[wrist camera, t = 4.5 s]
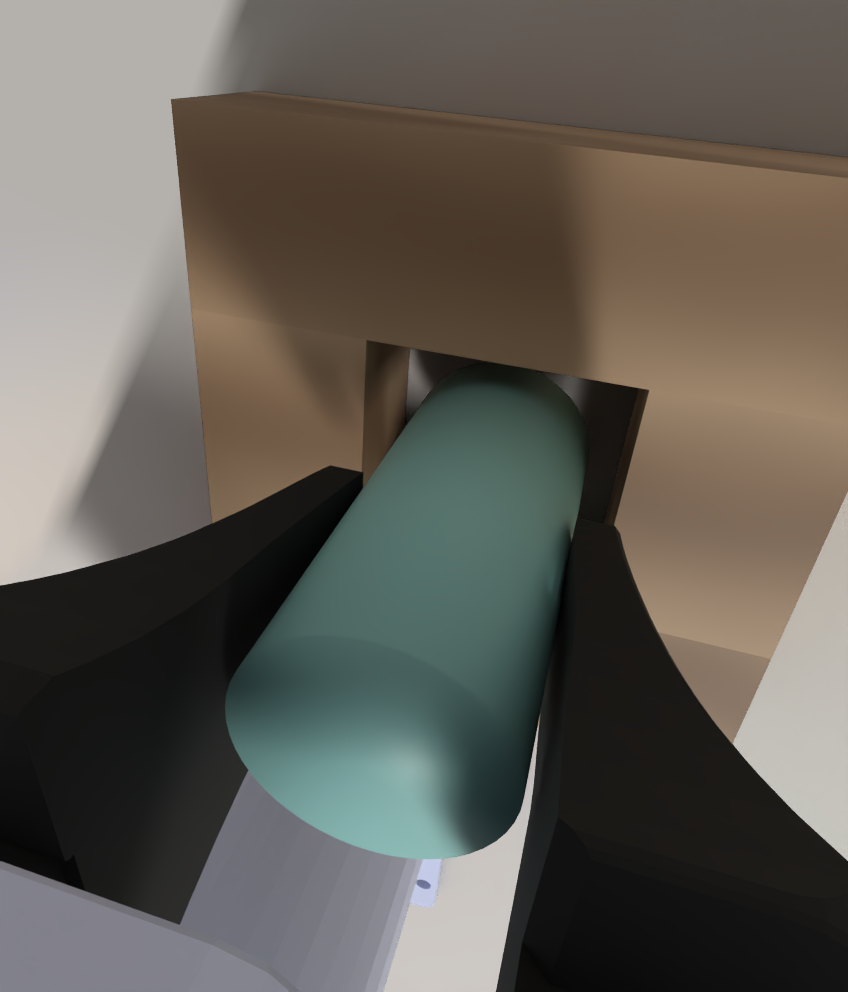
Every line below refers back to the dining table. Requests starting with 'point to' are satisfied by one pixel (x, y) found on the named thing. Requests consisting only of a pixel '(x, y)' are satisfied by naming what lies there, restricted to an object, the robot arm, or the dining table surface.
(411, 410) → the dining table surface
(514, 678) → the peg
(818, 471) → the socket block
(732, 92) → the dining table surface
